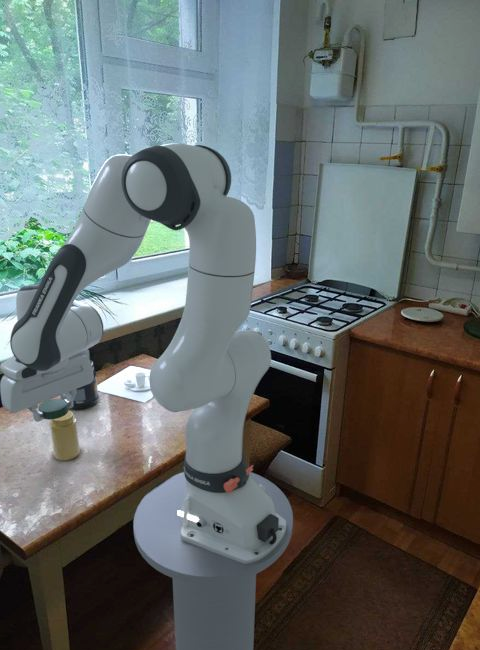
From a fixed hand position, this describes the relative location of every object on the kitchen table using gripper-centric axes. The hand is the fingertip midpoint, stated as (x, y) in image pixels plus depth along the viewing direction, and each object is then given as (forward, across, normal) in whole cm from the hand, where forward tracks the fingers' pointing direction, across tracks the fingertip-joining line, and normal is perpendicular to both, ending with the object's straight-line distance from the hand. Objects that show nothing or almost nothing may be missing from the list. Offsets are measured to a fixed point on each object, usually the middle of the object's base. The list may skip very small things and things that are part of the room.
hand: (54, 413), depth 111 cm
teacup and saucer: (+14, -41, -20) cm, 47 cm away
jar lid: (-2, 0, 0) cm, 2 cm away
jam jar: (+14, -4, -3) cm, 15 cm away
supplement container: (+14, -22, -23) cm, 35 cm away
